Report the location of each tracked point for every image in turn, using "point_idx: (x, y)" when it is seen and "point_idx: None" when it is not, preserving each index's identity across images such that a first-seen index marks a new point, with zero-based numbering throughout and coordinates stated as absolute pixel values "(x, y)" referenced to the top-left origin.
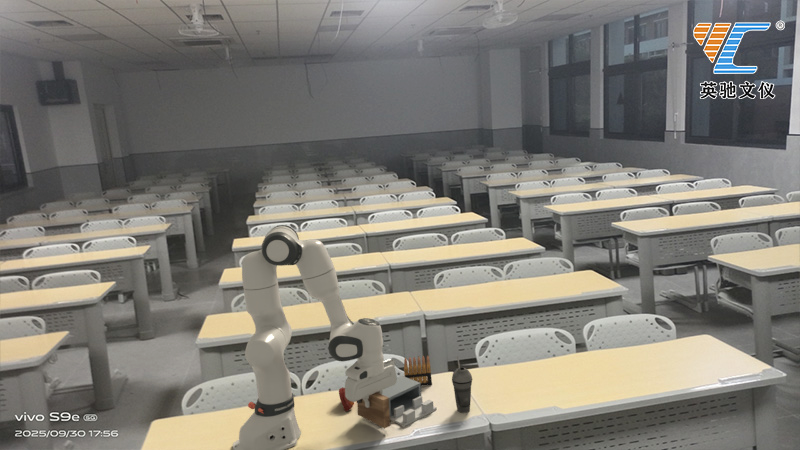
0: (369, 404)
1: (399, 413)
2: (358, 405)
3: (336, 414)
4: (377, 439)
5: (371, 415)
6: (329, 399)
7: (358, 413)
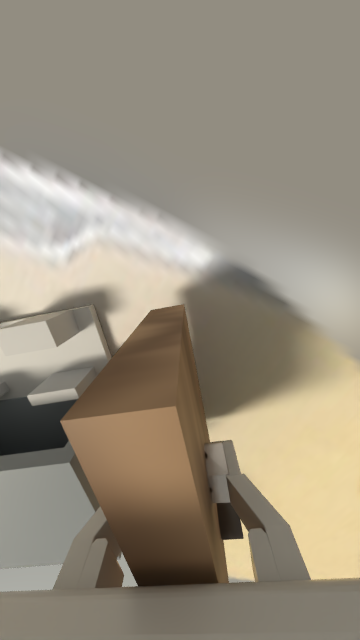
0: (225, 459)
1: (70, 375)
2: None
3: None
4: (224, 287)
5: (200, 399)
6: None
7: None
